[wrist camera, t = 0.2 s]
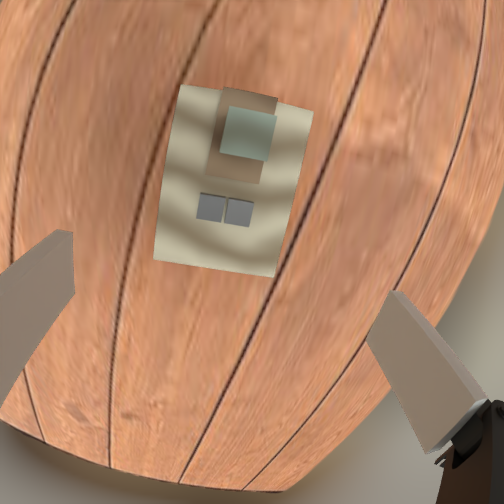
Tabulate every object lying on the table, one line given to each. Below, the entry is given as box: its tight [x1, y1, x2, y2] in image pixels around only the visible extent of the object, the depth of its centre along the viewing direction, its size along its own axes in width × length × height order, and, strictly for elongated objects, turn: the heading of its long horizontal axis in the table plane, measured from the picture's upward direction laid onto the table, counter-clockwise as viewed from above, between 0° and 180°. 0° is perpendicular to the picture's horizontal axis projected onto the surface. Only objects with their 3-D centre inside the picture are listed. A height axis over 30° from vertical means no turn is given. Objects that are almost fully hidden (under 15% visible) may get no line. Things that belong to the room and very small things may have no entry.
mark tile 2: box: [224, 197, 254, 227], centre depth 36 cm, size 3×3×1 cm
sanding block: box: [205, 87, 278, 184], centre depth 28 cm, size 10×6×11 cm, turn 168°
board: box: [153, 84, 314, 278], centre depth 35 cm, size 22×16×2 cm
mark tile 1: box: [196, 193, 226, 223], centre depth 35 cm, size 3×3×1 cm
